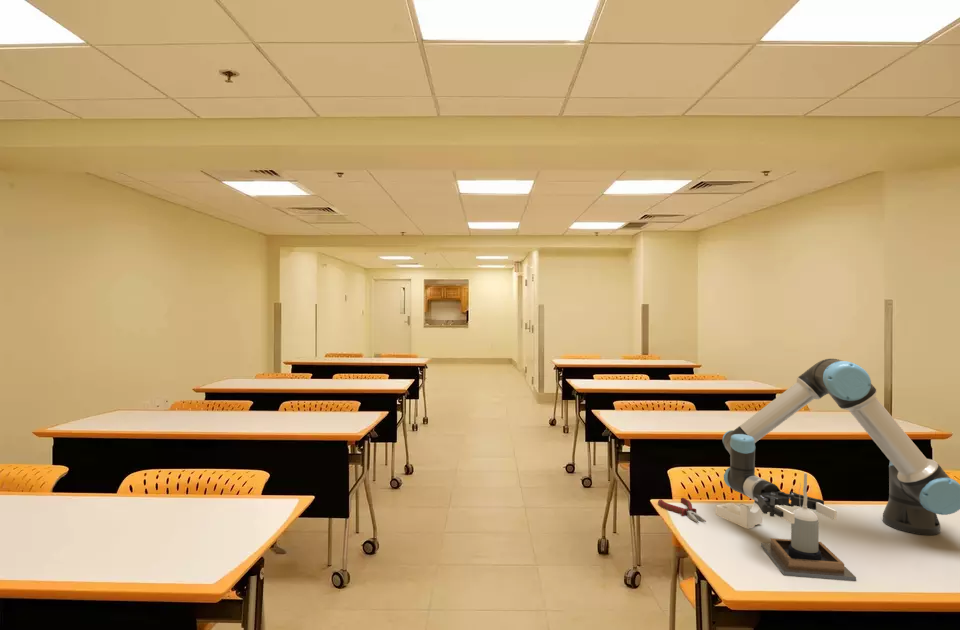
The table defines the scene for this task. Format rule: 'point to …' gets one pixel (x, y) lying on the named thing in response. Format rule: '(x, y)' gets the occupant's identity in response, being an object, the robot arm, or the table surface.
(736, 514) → the bracket
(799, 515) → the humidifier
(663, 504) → the pliers
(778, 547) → the fitting nest
